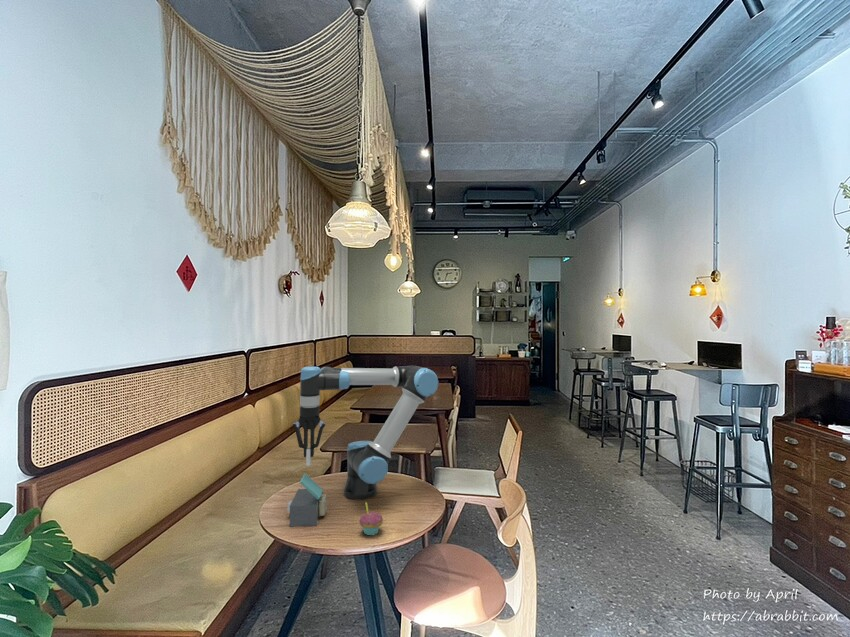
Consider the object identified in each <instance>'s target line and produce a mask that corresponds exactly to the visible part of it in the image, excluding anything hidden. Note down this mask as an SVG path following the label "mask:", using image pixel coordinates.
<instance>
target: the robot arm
mask: <svg viewBox="0 0 850 637" xmlns="http://www.w3.org/2000/svg"><path fill="white" fill-rule="evenodd" d="M299 380H300V381H299V382H300V388H299V389H300V390H299V391H300V394H299V396H300V397H299V405H300V406H299V418H298V420H297V421H296V422H293V424H292V427H293V429H294V431H295V435H296V439H297V440H296V441H297V444H298V447H299V449H300V448H301V449H303V457H304V458H306V459H305V460H306V461H305V462H306V463H305V466H306V467H310V466H311V464H312V458H313V457H314V455H315V449H316V448H318V447H319V445H320V441H321V438H322V434H323V431H324V428H325V426H326V424H327V423H326V422H325V421H324V422H323V420H321V418H320V397H321V396H320V394H321V391H335V390H336V391H337V390H340V391H341V390H347V389H349V387H350V386H392V387H394V388H401V390H402V394H401V395H400V398H399V399H398V401H397V403H396V404H395V405H394V407H393V409H392V411H391V412H390V414H389V415H388V417H387V419H386V420H385V422H384V424H383V426H382V427H381V429H380V431H378V434H377V435H376V437H375V438H374V440H373V441H371V440H359V441H358V440H357V441H352V442H350V443H348V444H347V449H346V452H347V454H346V455H347V476H346V480H345V483H344V486H343V497H346V498H347V499H350V500H355V499H361V500H367V499H370V497H371V498H373V497H375V496H376V495H377V494H378V485H377V484H378V483H380V482H382V481H383V480H384V479H385V478H386V476H387V474H388V471H389V466H388V465H389V463H390V461H391V460H392V456H391V452H392V450H393V449H394V447H395V445H396V444H397V442H398V441H399V439H400V437H401V435H402V433H403V432H404V430H405V428H407V425H408V423H409V422H410V420H411V418H412V417H413V415H414V413H415V412H416V411H417V408H418V407H419V405H420V404H423V403H425V402H426V401H427V399H428V397H430V396H432V395H434V394H436V391H437V390H438V388H439V379H438V376H437V374H436V372H434V370H431V369H430V368H427V367H422V366H418V365H403V366H401V365H400V366H399V365H398V366H393V367H392V368H386V367H385V368H377V367H374V368H373V367H371V368H369V367H367V368H365V367H330V366H324V367H322V368H320V367H319V366H304V367H302V368H301V370H300V378H299ZM318 425H319V430H318V433H317V436H316V440H315V432H316V431H315V429H316V428H317V427H318ZM300 426H301V427H302V429H303V438H302V434H301V428H300ZM309 430H310V436H309ZM309 437H310V443H309V442H308V441H309V439H308V438H309ZM308 444H310V445H309V446H310V447H309V446H308ZM366 498H367V499H366Z"/></svg>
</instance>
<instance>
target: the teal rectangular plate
mask: <svg viewBox="0 0 850 637" xmlns="http://www.w3.org/2000/svg"><path fill="white" fill-rule="evenodd" d="M299 481H300V482H299V484H301V486H303V487H304V489H307V490H308V491H309V492H310V493H311V494H312V495H313V496H314V497H315V498H316V499H318V500H319V499H320V497H321V494H322V491H323V489H322V488H323V487H321V486H320V485H318V484H317V483H316V482H315V481H314V480H313V479H312V478H311V477H310V476H309V475H308V474H307V473H306V472H305V473H304V474H303V475H302V477H301V479H300V480H299ZM323 492H324V491H323Z"/></svg>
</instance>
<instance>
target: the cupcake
mask: <svg viewBox="0 0 850 637" xmlns="http://www.w3.org/2000/svg"><path fill="white" fill-rule="evenodd" d="M365 509H366V510H365V511H366V512H365V513H364V514H362V515H361V516H360V518H359V525H360V527H362V529H363V533H364V535H365V534H367V535H373V534H376V533H377V534H378V532H379V528H380V527H381V526H382V525H383V523H384V521H383V518H382V515H381V514H379V513H378V512H376V511H375V512H374V511H369V507H368V502H367V501H365ZM377 534H376V535H377ZM367 535H366V536H367Z"/></svg>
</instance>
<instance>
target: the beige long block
mask: <svg viewBox="0 0 850 637" xmlns="http://www.w3.org/2000/svg"><path fill="white" fill-rule="evenodd" d="M327 498H328V497H327V493H323V494H322V495H321V497H320V500H319V516H320V517H322V516H323V517H324V516H325V515H326V512H327V500H328V499H327ZM292 501H293V500H288V502H287V504H286V505H287V513H288V512H289V513H290V505H291V503H292Z"/></svg>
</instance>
